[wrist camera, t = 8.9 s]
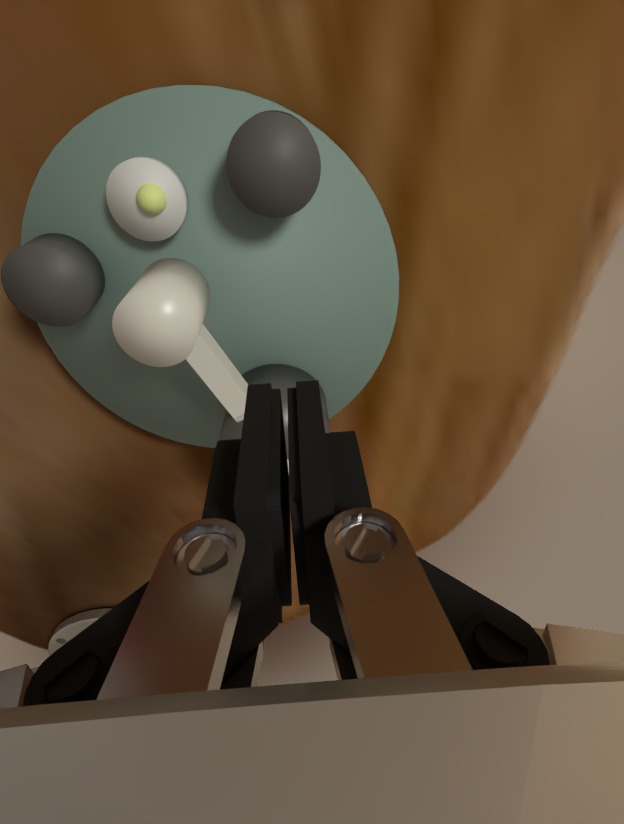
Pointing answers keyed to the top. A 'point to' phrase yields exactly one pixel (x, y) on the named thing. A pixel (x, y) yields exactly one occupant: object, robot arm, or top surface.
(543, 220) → the top surface
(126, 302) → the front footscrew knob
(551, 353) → the top surface
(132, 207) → the instrument base
